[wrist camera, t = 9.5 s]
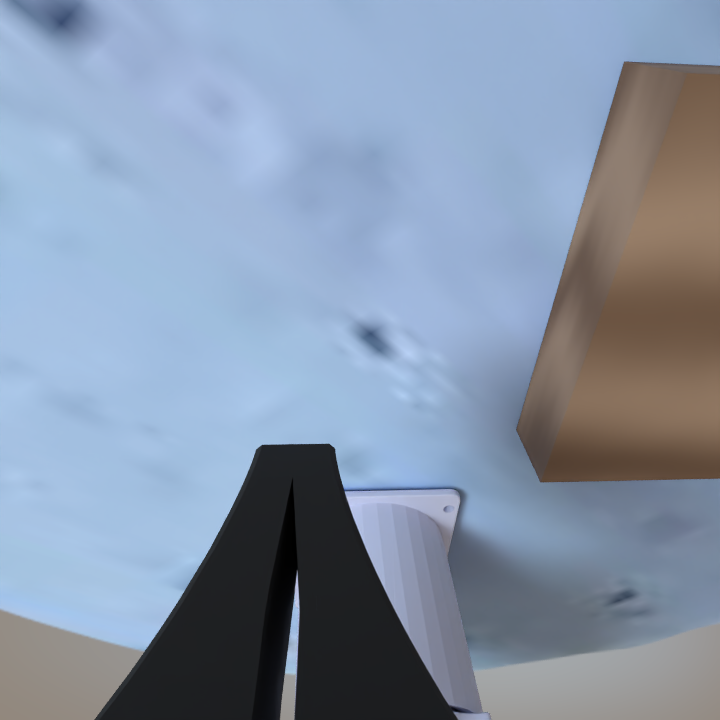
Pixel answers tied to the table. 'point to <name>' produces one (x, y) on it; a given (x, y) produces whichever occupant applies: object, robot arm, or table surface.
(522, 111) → the table surface
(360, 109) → the table surface
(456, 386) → the table surface
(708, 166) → the board
